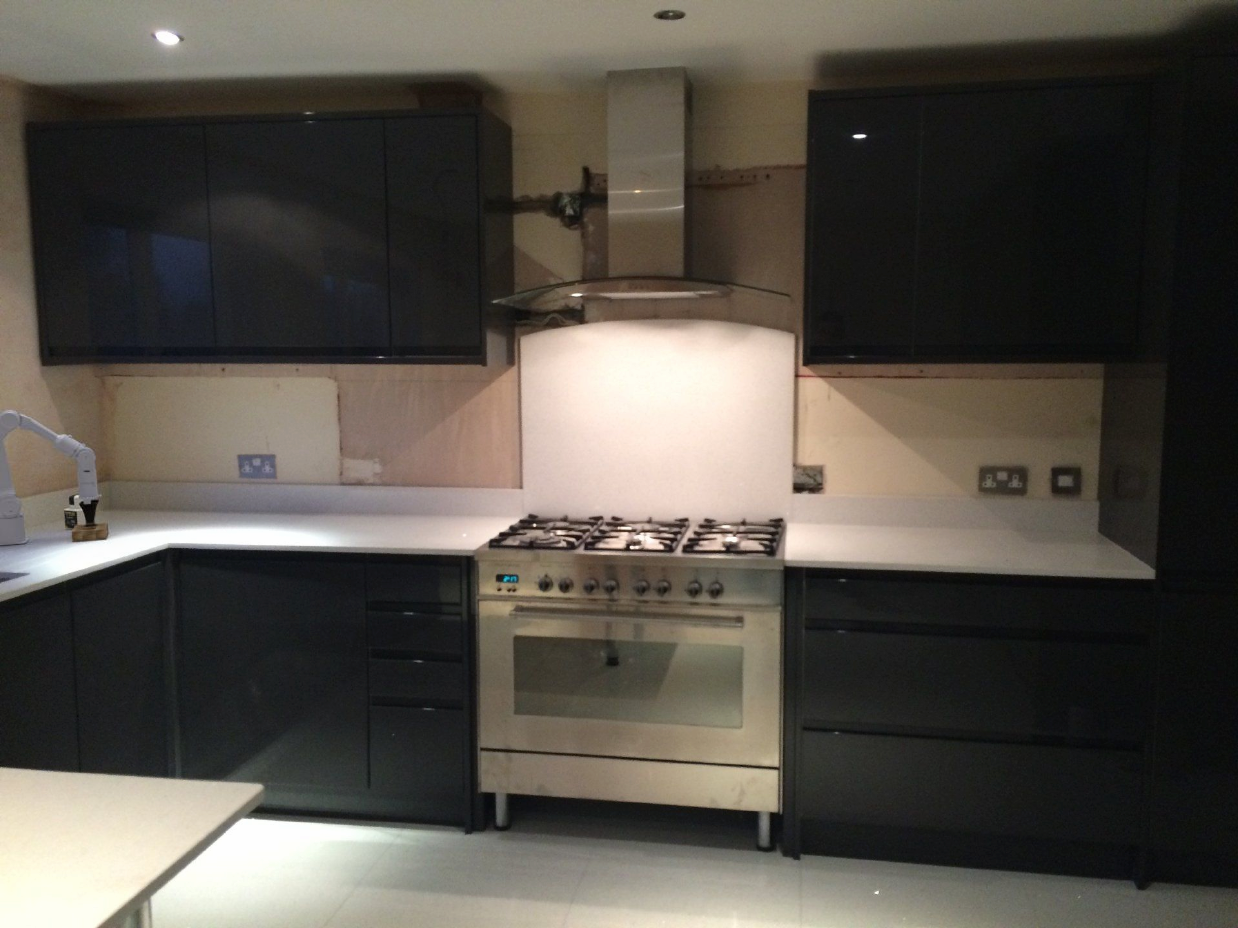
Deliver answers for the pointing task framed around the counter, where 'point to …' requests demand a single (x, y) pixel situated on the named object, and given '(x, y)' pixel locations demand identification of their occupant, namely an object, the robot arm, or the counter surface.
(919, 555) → the counter surface
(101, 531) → the hole block
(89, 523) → the steel pin
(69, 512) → the medicine bottle
